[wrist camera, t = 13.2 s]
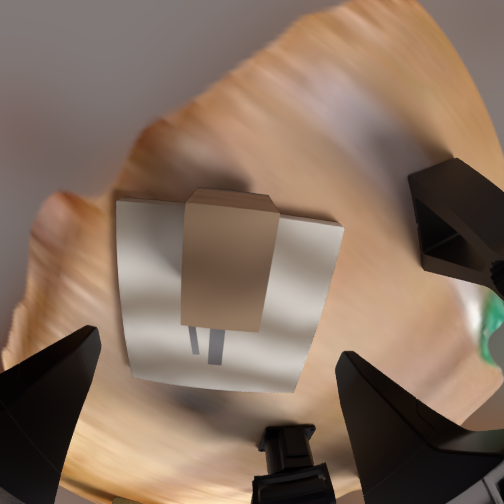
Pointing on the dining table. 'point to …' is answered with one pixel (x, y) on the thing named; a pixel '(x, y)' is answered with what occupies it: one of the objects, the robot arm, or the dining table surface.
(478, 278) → the phone stand
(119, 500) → the potted cactus
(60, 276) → the dining table surface
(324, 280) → the board
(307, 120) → the dining table surface
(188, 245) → the block
